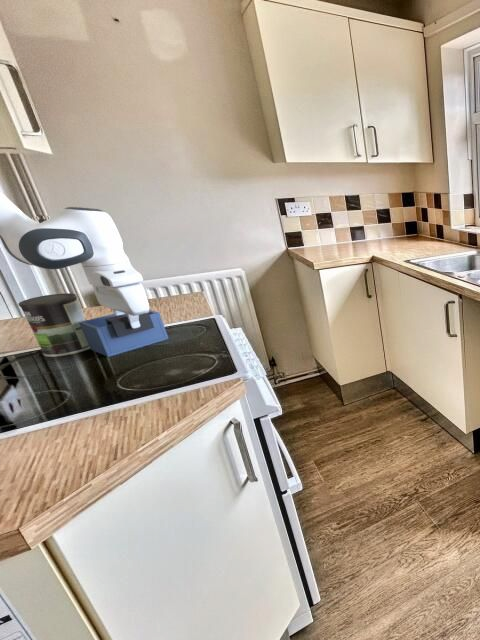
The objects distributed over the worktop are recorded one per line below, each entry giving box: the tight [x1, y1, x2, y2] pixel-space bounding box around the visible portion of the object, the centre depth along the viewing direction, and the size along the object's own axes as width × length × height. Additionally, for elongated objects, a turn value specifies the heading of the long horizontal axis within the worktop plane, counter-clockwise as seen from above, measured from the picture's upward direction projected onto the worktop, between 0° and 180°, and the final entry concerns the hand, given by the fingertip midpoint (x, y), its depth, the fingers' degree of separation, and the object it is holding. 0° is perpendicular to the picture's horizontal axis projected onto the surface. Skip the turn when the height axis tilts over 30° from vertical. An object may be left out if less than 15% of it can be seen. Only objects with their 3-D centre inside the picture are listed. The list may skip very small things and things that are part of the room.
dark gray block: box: [105, 312, 154, 338], centre depth 110 cm, size 8×4×5 cm, turn 151°
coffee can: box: [18, 292, 91, 358], centre depth 110 cm, size 10×10×14 cm
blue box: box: [79, 309, 169, 358], centre depth 114 cm, size 14×11×8 cm
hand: (131, 325), depth 111 cm, fingers closed on dark gray block, 4 cm apart
